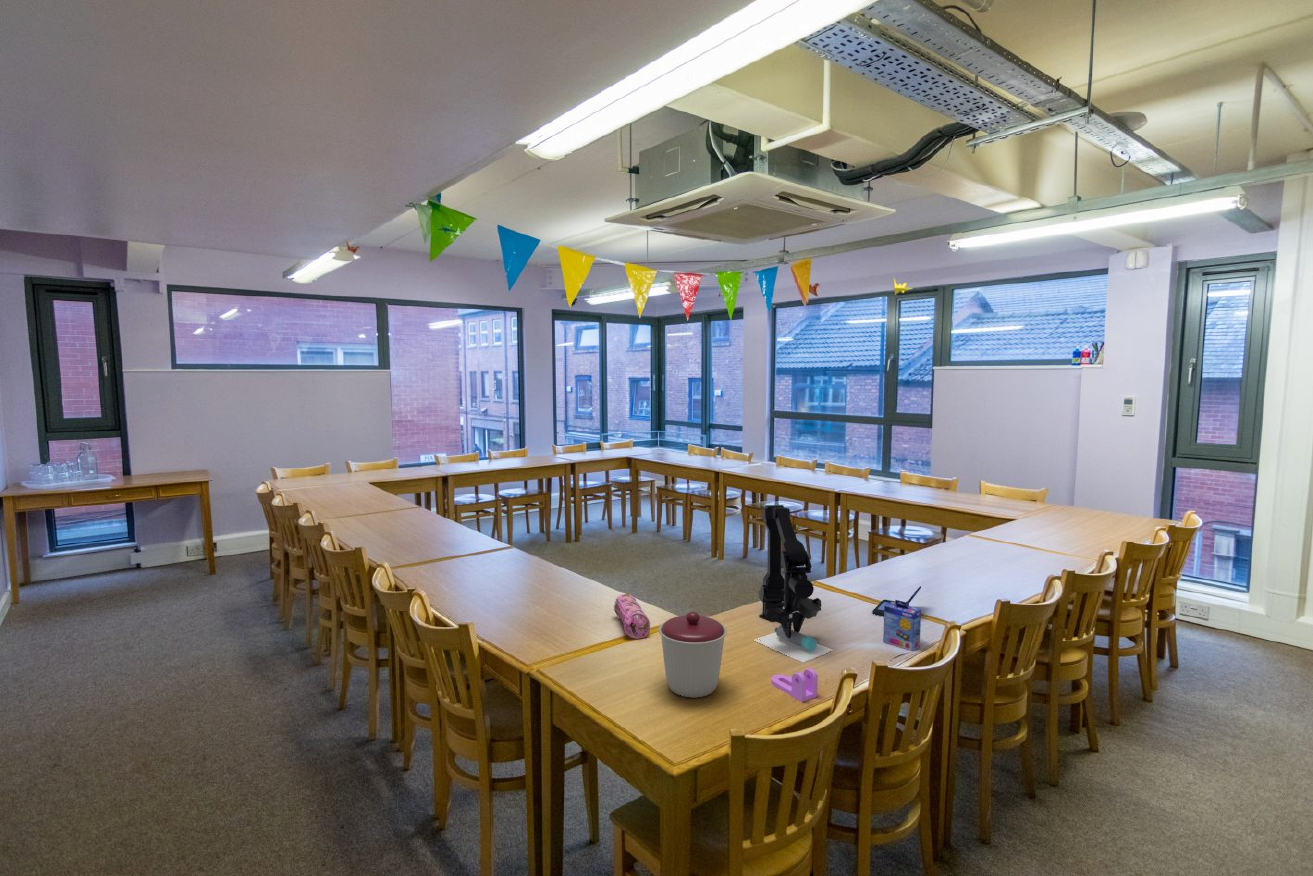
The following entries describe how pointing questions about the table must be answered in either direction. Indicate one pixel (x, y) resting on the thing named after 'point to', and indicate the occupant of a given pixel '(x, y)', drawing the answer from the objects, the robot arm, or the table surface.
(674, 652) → the canister
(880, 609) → the handheld game console
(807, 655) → the paper sheet
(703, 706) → the table surface
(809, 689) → the bracket
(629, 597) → the pencil case
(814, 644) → the marker
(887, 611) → the ink cartridge box
